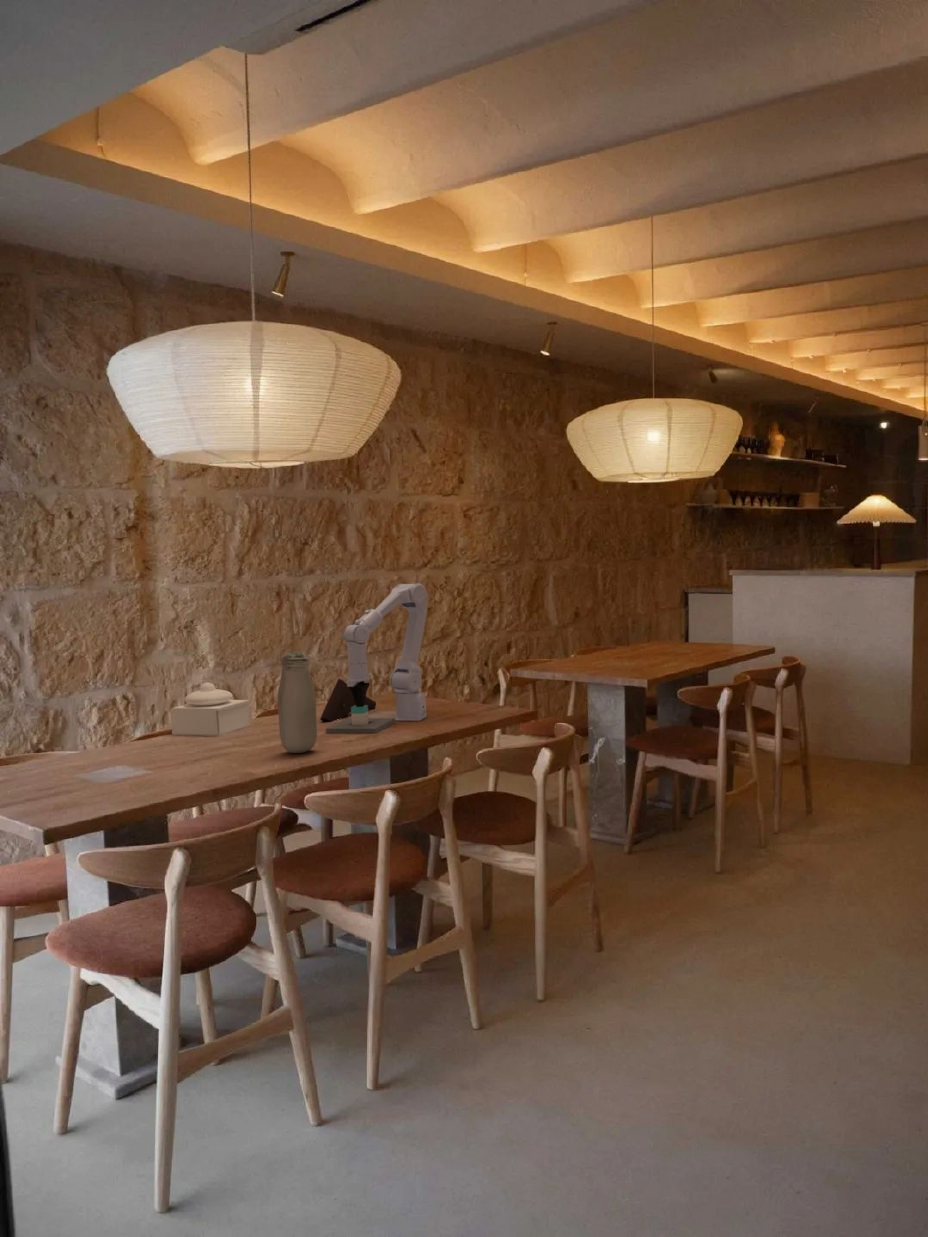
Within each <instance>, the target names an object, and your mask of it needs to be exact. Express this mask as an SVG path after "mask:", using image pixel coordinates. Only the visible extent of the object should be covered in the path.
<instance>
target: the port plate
mask: <svg viewBox="0 0 928 1237" xmlns="http://www.w3.org/2000/svg"><path fill="white" fill-rule="evenodd" d="M395 718H396V717H392V718H389V717H388V718H386V717H384V718H383V717H382V718H381V717H380V718H379V717H375V718H374V717H372V718H371V717H370V718H369V717H368V721H369V724H368V725H352V717H351V718H346V719H344V720H341V721H339V722H336V723H335V724H333V725H331V726H329V727H326V728H325V733H326V734H373V735H374V734H377V733H380V732H381V731H383V730H385V729H387V728H388V727H390V726H392V725H394V724H395V723H396V721H395ZM393 723H394V724H393Z"/></svg>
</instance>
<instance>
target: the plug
mask: <svg viewBox="0 0 928 1237" xmlns="http://www.w3.org/2000/svg"><path fill="white" fill-rule="evenodd" d="M350 714H351V718H352V725H368V724H369V721H368V718H369V709H368V705H364V706H363V707H356V705H355V706H353V707H351V712H350Z"/></svg>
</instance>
